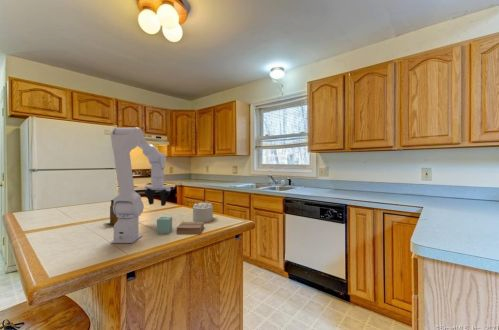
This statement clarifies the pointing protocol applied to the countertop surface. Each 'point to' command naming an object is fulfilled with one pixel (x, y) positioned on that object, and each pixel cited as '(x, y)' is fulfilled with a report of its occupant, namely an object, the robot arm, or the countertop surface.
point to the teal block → (164, 224)
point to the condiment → (111, 216)
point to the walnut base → (190, 228)
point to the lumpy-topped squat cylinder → (202, 212)
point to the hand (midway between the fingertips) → (157, 204)
